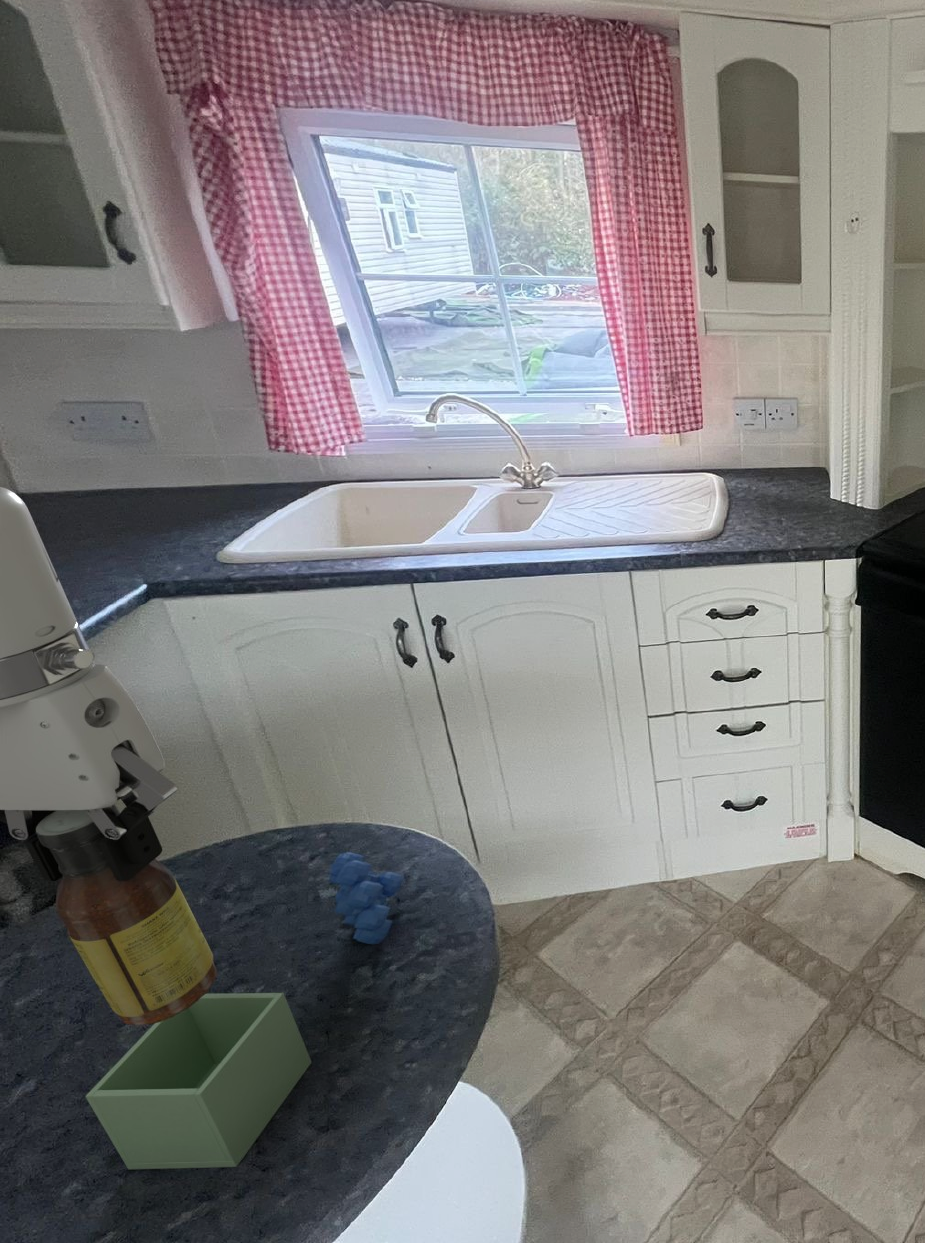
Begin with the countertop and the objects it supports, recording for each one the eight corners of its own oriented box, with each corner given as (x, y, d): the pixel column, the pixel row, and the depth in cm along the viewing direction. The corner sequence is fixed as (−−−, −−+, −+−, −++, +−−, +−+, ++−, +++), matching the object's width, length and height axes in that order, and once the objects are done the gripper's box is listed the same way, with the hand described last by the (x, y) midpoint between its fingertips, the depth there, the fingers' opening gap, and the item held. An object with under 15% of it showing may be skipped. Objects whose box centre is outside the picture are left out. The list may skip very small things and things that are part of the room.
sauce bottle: (231, 953, 67) (161, 776, 60) (202, 1016, 62) (121, 829, 55) (134, 977, 65) (48, 795, 57) (95, 1044, 60) (-5, 853, 52)
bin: (127, 1169, 65) (84, 1096, 61) (216, 1063, 73) (182, 993, 69) (236, 1167, 65) (200, 1094, 62) (312, 1062, 74) (283, 992, 70)
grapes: (434, 941, 86) (411, 861, 82) (364, 981, 82) (336, 899, 77) (397, 888, 93) (374, 812, 89) (331, 922, 88) (303, 843, 84)
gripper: (185, 639, 55) (258, 831, 62) (-59, 635, 54) (42, 831, 61) (82, 696, 48) (177, 906, 55) (-200, 693, 47) (-68, 907, 54)
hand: (105, 865), depth 58 cm, fingers closed on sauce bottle, 4 cm apart
